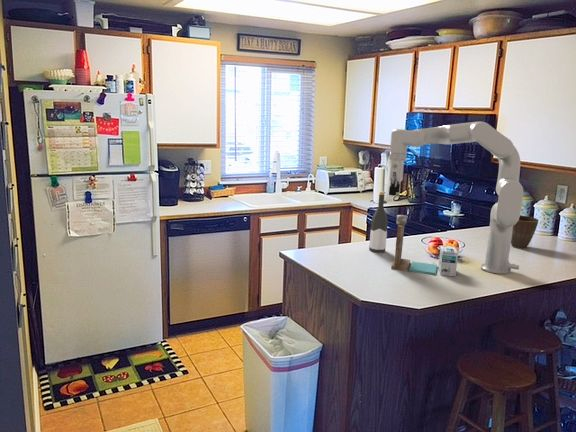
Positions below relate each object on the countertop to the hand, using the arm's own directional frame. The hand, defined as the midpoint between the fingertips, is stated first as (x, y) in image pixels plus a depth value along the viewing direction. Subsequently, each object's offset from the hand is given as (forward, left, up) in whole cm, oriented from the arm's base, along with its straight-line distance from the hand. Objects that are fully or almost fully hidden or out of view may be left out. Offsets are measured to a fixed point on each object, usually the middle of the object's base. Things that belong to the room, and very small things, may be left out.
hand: (393, 193), depth 229 cm
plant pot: (-63, -56, -32) cm, 90 cm away
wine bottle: (+7, -12, -32) cm, 35 cm away
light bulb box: (-27, +8, -32) cm, 42 cm away
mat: (-17, +8, -31) cm, 37 cm away
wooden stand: (-7, +8, -31) cm, 33 cm away
